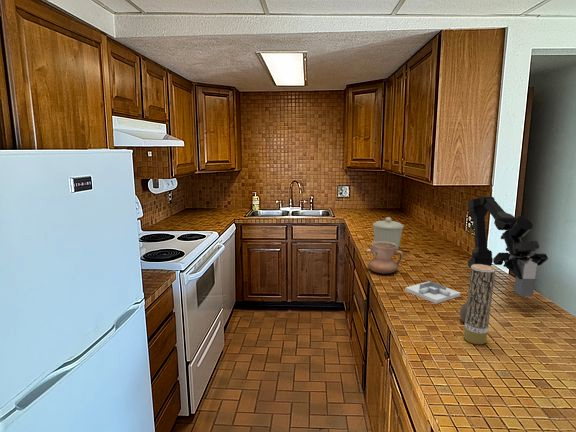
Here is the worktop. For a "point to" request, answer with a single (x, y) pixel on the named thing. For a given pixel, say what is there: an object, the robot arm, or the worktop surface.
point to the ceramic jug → (384, 257)
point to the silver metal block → (525, 278)
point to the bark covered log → (479, 303)
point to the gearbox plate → (432, 292)
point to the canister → (388, 231)
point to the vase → (463, 312)
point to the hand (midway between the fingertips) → (527, 278)
